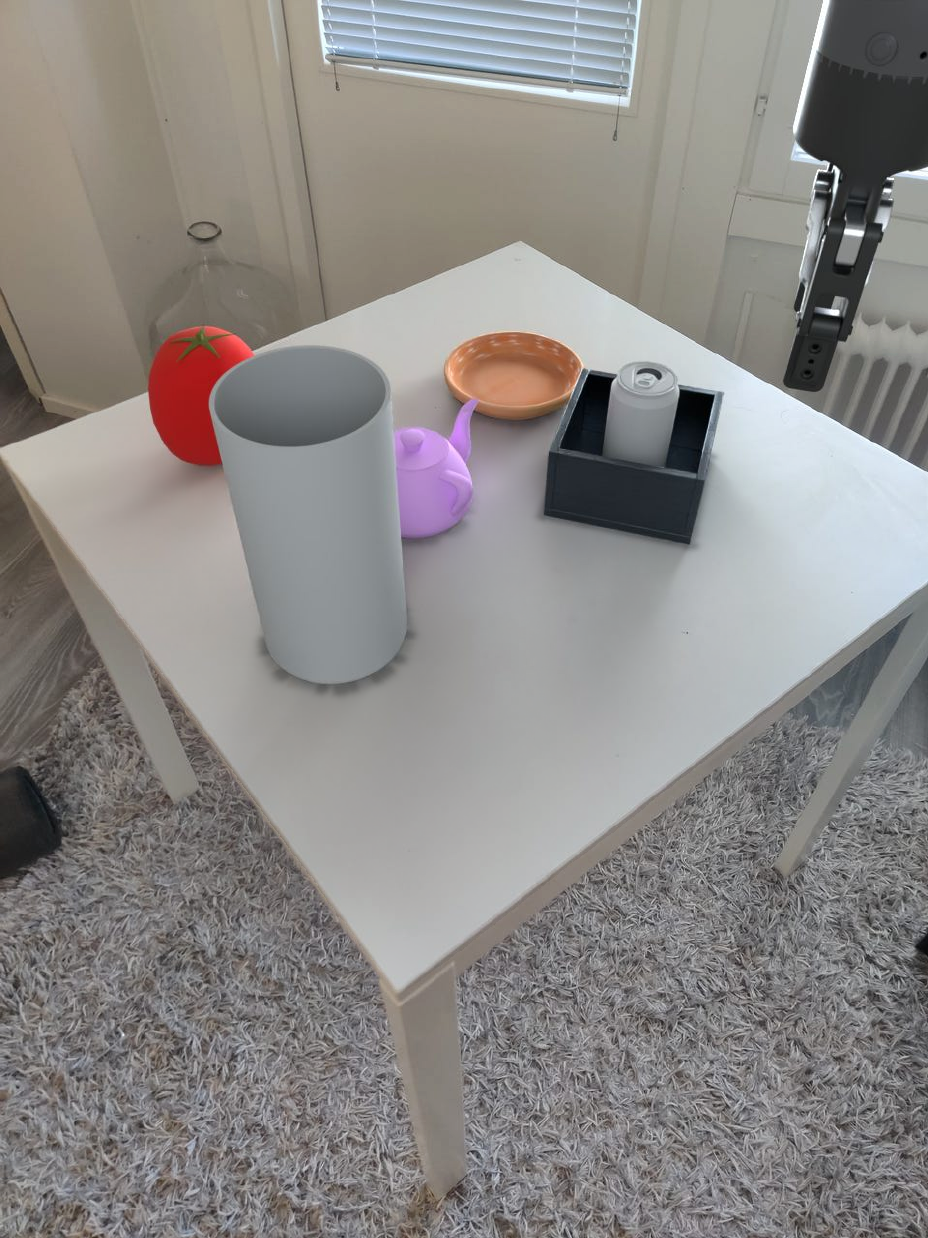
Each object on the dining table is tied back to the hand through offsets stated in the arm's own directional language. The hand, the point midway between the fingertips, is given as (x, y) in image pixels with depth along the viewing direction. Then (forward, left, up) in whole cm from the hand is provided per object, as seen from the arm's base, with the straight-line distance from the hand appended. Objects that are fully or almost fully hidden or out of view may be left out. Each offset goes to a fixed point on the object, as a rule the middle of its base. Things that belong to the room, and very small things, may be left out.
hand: (806, 347), depth 56 cm
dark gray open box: (+11, -24, -32) cm, 42 cm away
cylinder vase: (+32, +4, -32) cm, 46 cm away
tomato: (+54, -17, -32) cm, 65 cm away
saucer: (+27, -37, -32) cm, 56 cm away
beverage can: (+11, -24, -31) cm, 41 cm away
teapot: (+31, -14, -32) cm, 47 cm away
